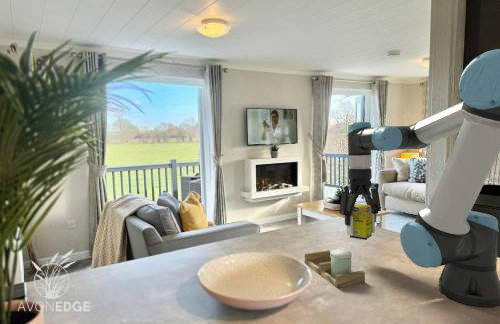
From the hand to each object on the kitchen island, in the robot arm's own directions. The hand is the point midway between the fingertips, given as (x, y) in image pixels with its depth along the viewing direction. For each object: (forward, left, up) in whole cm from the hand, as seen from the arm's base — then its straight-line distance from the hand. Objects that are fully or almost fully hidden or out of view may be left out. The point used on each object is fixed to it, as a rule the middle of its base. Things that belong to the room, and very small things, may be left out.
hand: (360, 233), depth 116 cm
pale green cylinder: (-9, +14, -10) cm, 19 cm away
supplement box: (0, 0, -2) cm, 2 cm away
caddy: (-4, +14, -11) cm, 18 cm away
